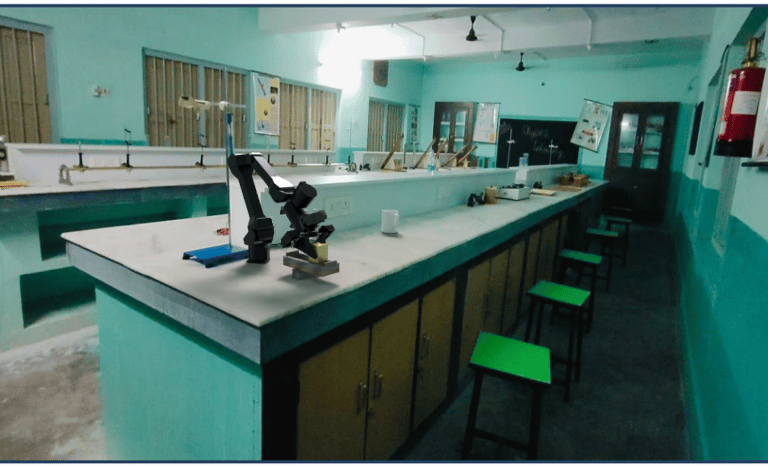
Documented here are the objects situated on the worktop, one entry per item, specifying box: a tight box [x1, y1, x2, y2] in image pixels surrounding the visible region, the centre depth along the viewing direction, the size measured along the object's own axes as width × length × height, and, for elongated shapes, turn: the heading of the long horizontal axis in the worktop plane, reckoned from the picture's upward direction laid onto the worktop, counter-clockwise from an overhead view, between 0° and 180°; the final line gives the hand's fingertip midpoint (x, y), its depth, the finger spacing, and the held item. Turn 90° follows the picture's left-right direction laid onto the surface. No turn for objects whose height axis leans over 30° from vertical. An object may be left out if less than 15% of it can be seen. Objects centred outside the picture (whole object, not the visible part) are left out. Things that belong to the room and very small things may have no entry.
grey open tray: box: [282, 249, 340, 281], centre depth 141 cm, size 18×9×7 cm, turn 52°
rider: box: [309, 242, 329, 266], centre depth 138 cm, size 4×4×7 cm
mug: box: [380, 209, 401, 234], centre depth 216 cm, size 12×8×10 cm, turn 29°
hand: (321, 257), depth 137 cm, fingers closed on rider, 4 cm apart
